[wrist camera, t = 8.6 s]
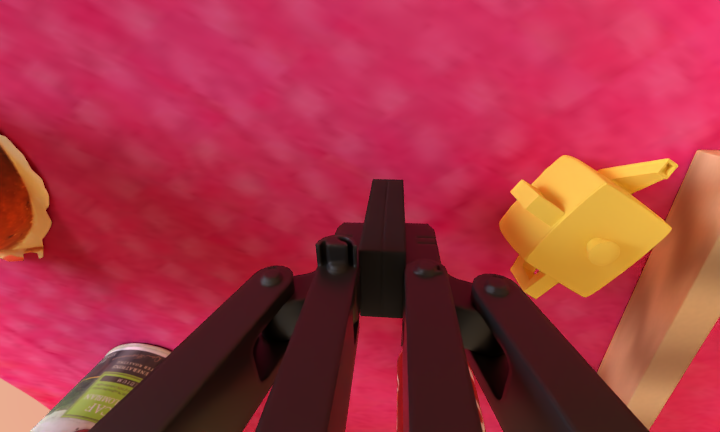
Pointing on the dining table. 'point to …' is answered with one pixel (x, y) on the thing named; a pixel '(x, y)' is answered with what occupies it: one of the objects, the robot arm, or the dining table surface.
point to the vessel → (20, 205)
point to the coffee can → (102, 388)
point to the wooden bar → (671, 298)
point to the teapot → (582, 224)
